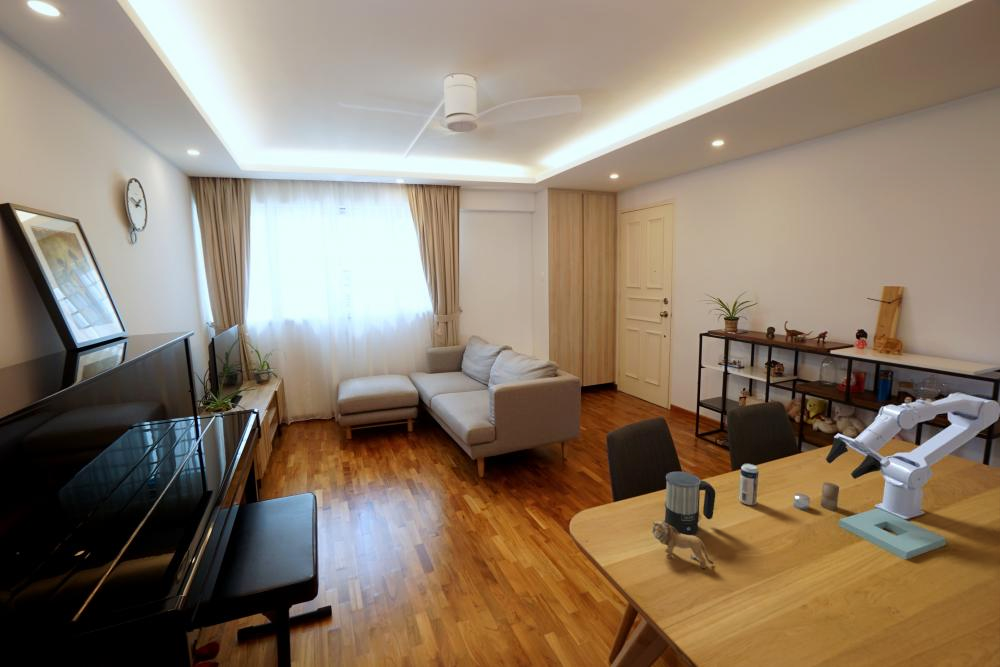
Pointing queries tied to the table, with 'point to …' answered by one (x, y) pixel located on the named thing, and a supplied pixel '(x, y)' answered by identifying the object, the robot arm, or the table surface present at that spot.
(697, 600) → the table surface
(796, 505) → the grey round piece
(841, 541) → the table surface
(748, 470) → the beer can
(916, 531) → the hole board
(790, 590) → the table surface
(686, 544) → the lion figurine
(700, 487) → the milk frother
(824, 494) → the walnut pin
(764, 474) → the table surface
